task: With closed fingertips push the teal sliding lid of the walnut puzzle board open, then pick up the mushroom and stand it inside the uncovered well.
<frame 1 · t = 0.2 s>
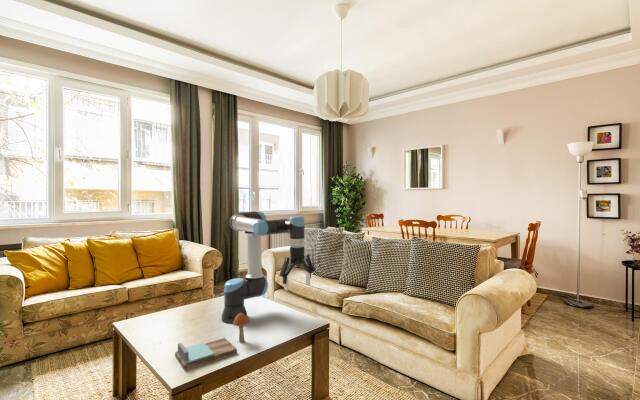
hand: (297, 287, 168), 28 cm above the table, fingers open, 13 cm apart
mushroom: (241, 341, 168), on the table
lid: (195, 348, 151), point 5 cm above the table, slide at 0.0 cm
board: (208, 354, 155), on the table
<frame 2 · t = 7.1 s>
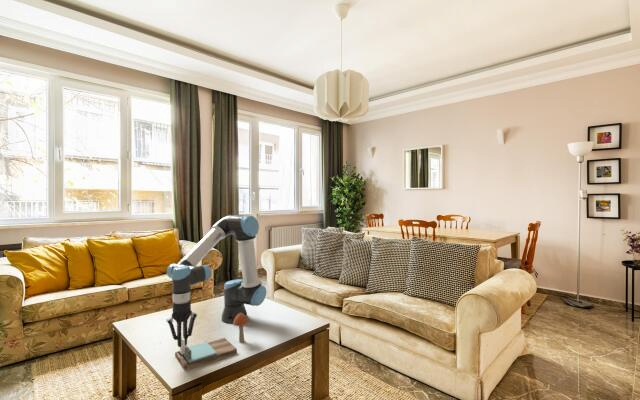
hand: (182, 352, 147), 4 cm above the table, fingers closed
lid: (198, 348, 152), point 5 cm above the table, slide at 1.2 cm, touching gripper
everything else where it was.
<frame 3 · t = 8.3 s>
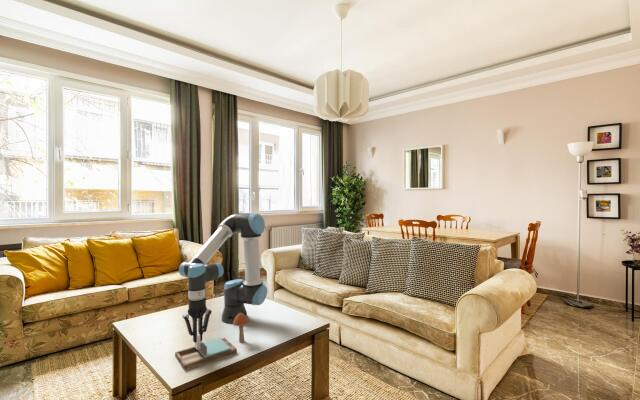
hand: (197, 348, 152), 4 cm above the table, fingers closed
lid: (212, 343, 156), point 5 cm above the table, slide at 8.1 cm, touching gripper
everything else where it was.
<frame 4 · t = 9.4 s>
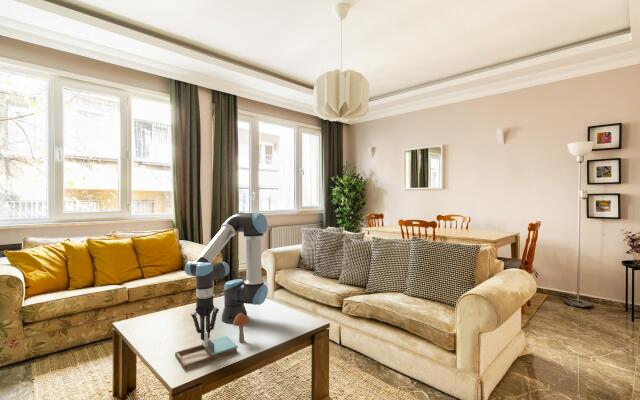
hand: (205, 345, 154), 5 cm above the table, fingers closed
lid: (219, 341, 158), point 5 cm above the table, slide at 11.6 cm
everything else where it was.
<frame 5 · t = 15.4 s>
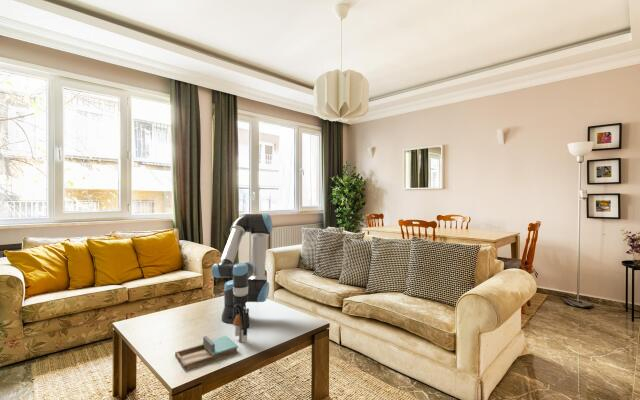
hand: (241, 338, 168), 2 cm above the table, fingers closed on mushroom, 7 cm apart
mushroom: (241, 341, 168), on the table, touching gripper
everything else where it was.
when the fingers open (3 cm above the table, at t = 25.4 s): mushroom stays where it is, resting on board.
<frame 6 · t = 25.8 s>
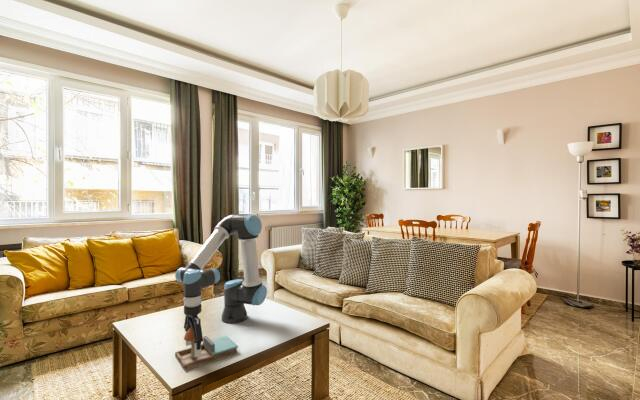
hand: (193, 350, 150), 4 cm above the table, fingers open, 13 cm apart
mushroom: (193, 358, 150), resting on board
everything else where it was.
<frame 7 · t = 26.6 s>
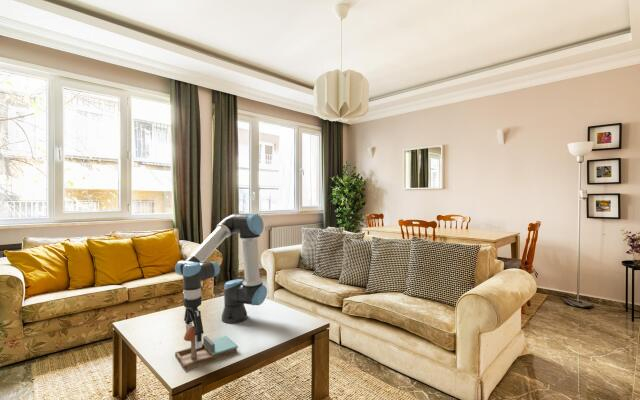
hand: (193, 342, 151), 8 cm above the table, fingers open, 13 cm apart
nothing on the table moved.
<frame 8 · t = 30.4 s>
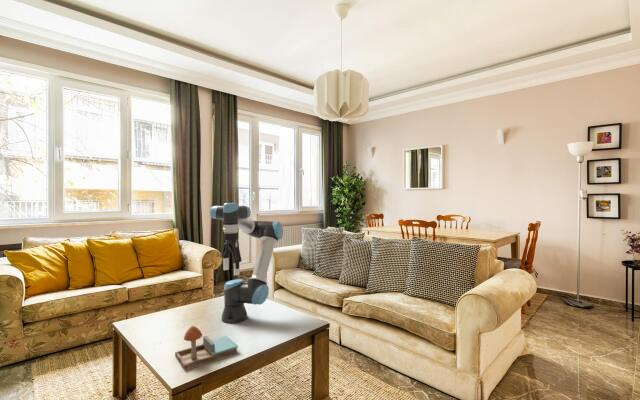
hand: (231, 272, 172), 35 cm above the table, fingers open, 13 cm apart
nothing on the table moved.
at the end: lid slide at 11.7 cm; mushroom inside the target area on the board (1.0 cm from its centre), point 0.3 cm above the board's base; mushroom tilted 0° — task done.
